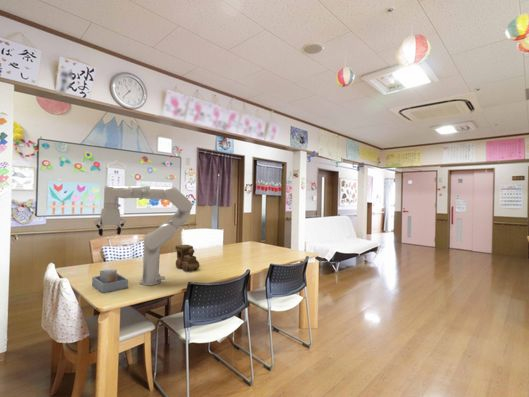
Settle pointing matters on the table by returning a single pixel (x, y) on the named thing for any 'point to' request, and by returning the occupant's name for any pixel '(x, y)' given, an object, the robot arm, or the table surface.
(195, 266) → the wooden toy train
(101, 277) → the medicine box
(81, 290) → the table surface
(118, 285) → the tote
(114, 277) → the walnut cylinder
